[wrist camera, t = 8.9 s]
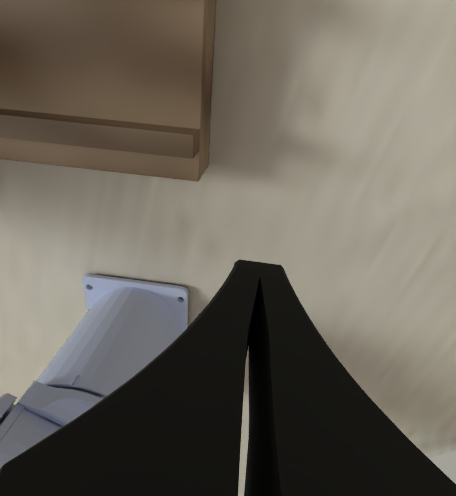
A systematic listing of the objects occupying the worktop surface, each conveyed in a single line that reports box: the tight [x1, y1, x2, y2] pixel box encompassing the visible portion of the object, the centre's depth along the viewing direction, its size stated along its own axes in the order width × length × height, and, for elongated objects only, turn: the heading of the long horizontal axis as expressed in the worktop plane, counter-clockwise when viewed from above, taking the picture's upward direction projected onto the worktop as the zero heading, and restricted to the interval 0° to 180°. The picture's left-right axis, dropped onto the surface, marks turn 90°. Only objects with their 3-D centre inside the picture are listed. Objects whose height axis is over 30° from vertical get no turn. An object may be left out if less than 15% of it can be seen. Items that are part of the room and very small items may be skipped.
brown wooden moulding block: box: [0, 0, 216, 181], centre depth 14 cm, size 10×18×4 cm, turn 86°
